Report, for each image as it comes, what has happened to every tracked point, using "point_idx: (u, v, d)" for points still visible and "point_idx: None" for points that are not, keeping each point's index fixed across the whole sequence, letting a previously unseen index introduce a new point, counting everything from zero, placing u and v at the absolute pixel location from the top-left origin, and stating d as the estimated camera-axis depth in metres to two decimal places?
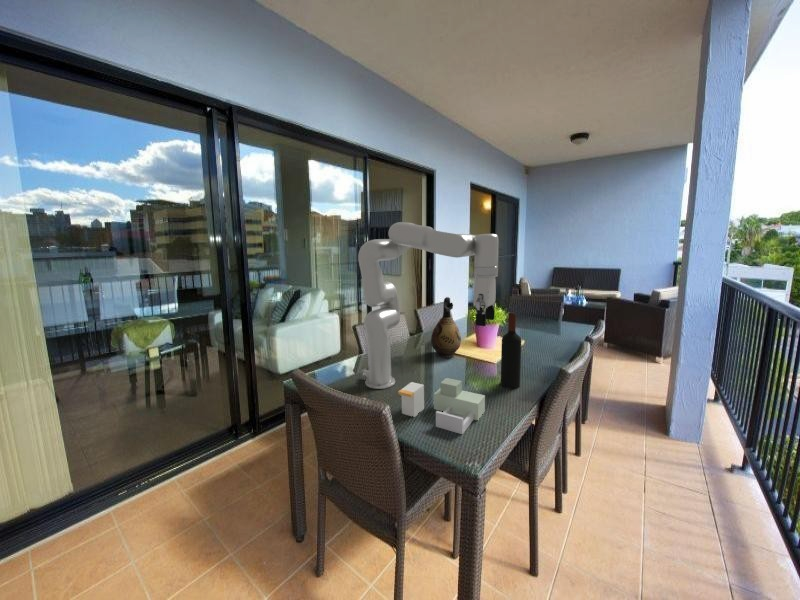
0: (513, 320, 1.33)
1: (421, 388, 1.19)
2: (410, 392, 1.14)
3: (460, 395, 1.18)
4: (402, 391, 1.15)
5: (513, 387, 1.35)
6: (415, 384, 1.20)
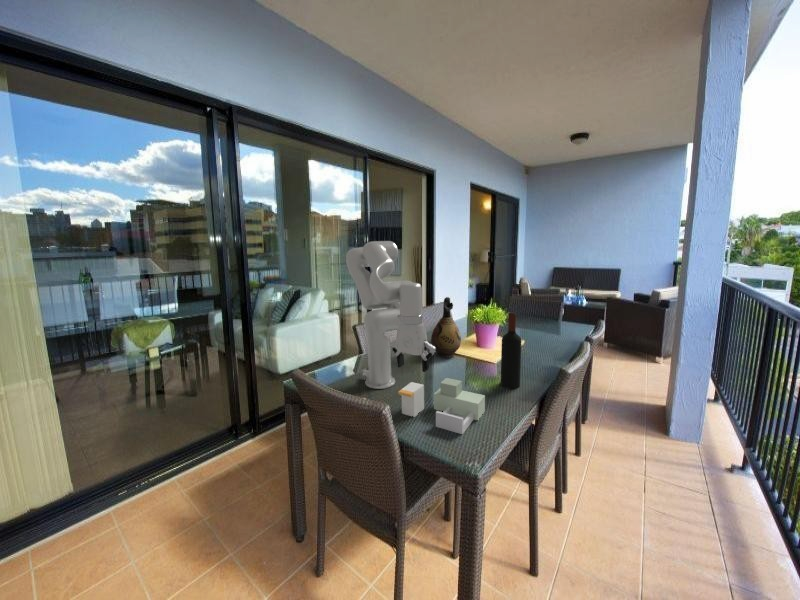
0: (513, 320, 1.33)
1: (421, 388, 1.19)
2: (410, 392, 1.14)
3: (460, 395, 1.18)
4: (402, 391, 1.15)
5: (513, 387, 1.35)
6: (415, 384, 1.20)
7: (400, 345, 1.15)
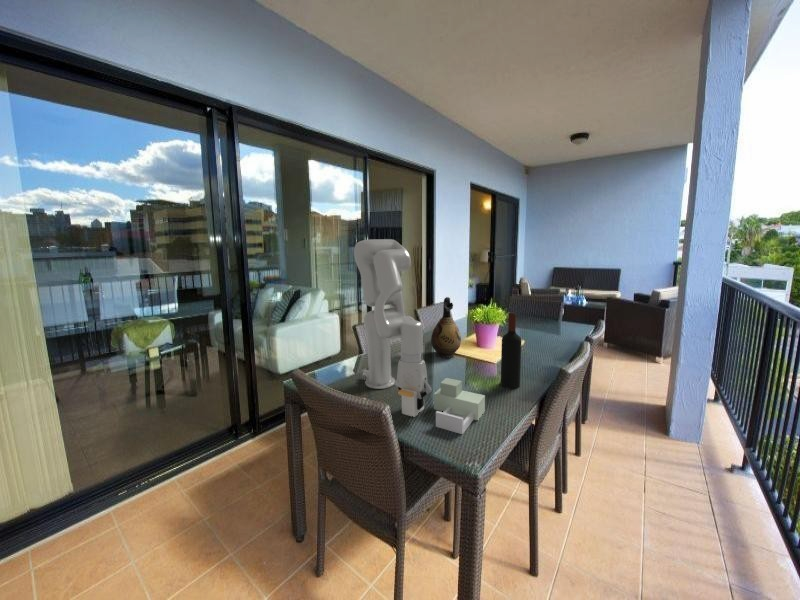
0: (513, 320, 1.33)
1: None
2: (410, 392, 1.14)
3: (460, 395, 1.18)
4: (402, 391, 1.15)
5: (513, 387, 1.35)
6: None
7: (401, 381, 1.17)
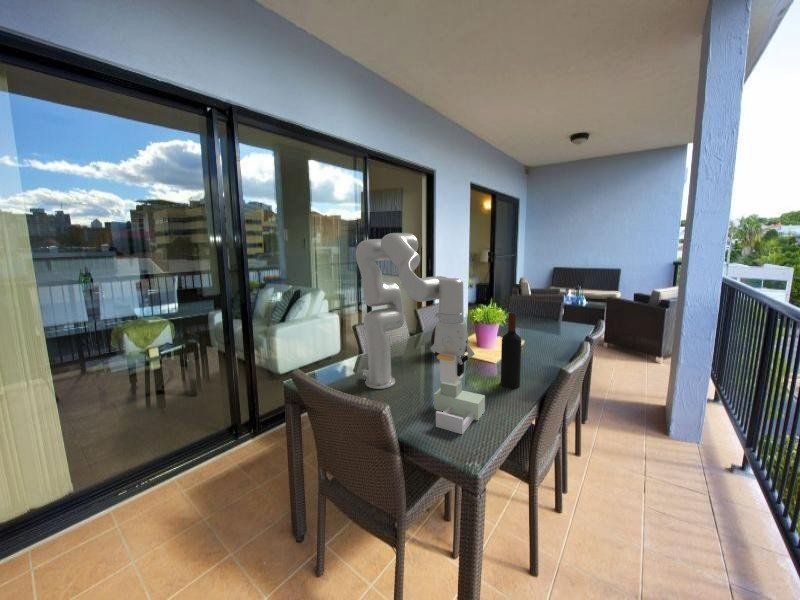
0: (513, 320, 1.33)
1: None
2: (450, 356, 1.04)
3: (460, 395, 1.18)
4: (441, 355, 1.05)
5: (513, 387, 1.35)
6: None
7: (439, 345, 1.07)
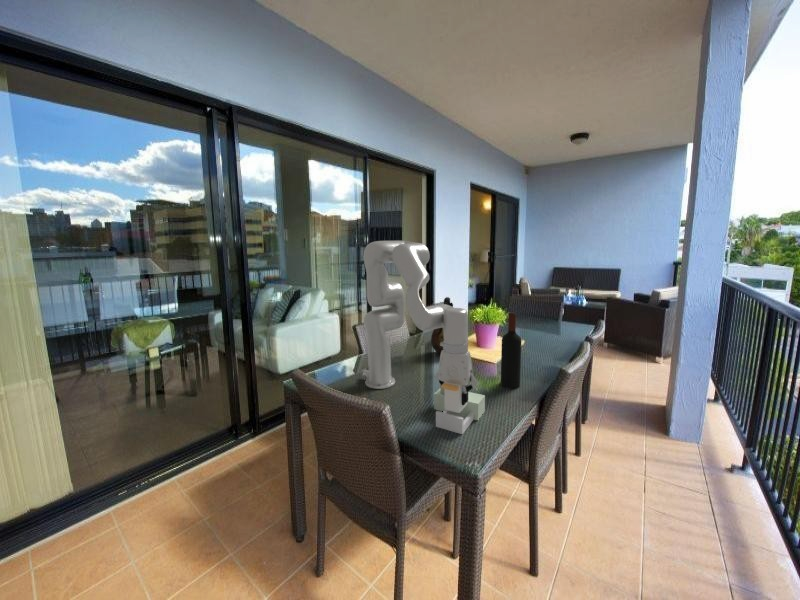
0: (513, 320, 1.33)
1: None
2: (455, 386, 1.05)
3: None
4: (446, 385, 1.05)
5: (513, 387, 1.35)
6: None
7: (443, 374, 1.08)
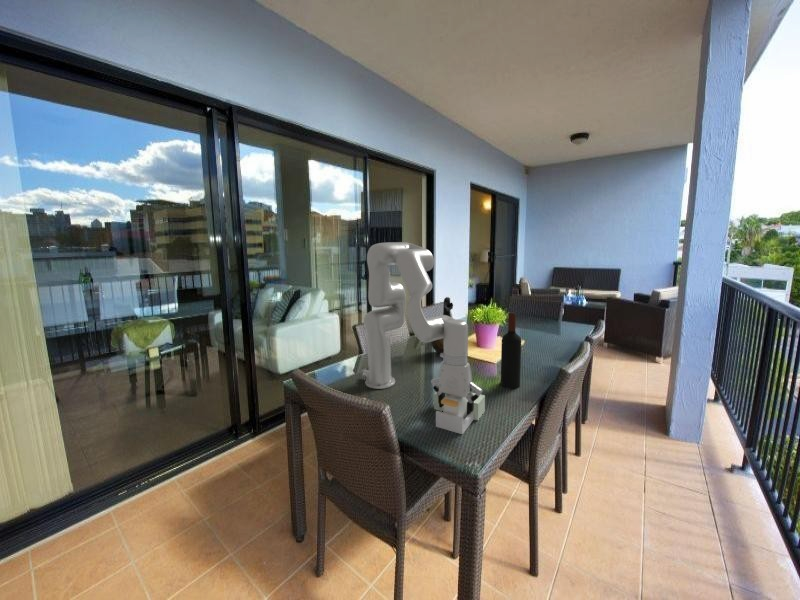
0: (513, 320, 1.33)
1: None
2: (454, 401, 1.06)
3: None
4: (445, 400, 1.07)
5: (513, 387, 1.35)
6: None
7: (443, 385, 1.08)
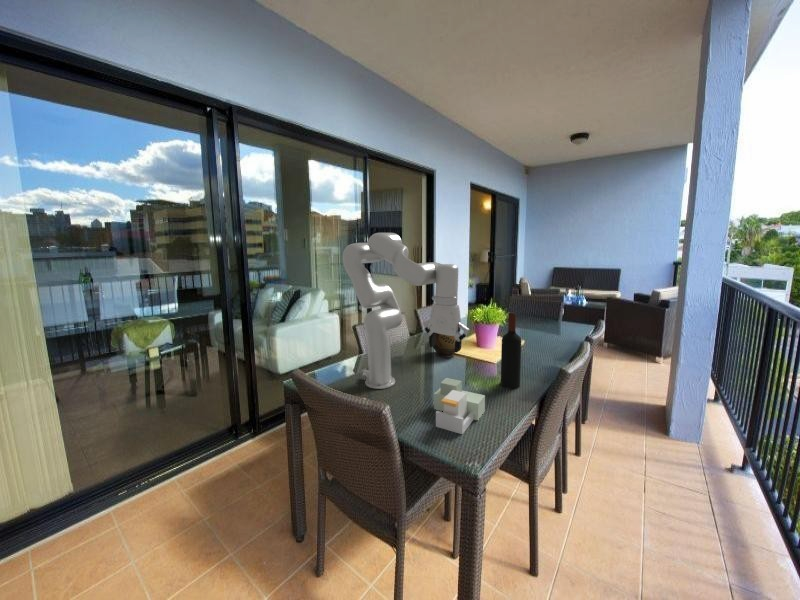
0: (513, 320, 1.33)
1: (465, 396, 1.10)
2: (454, 401, 1.06)
3: None
4: (445, 400, 1.07)
5: (513, 387, 1.35)
6: (457, 392, 1.12)
7: (434, 325, 1.17)
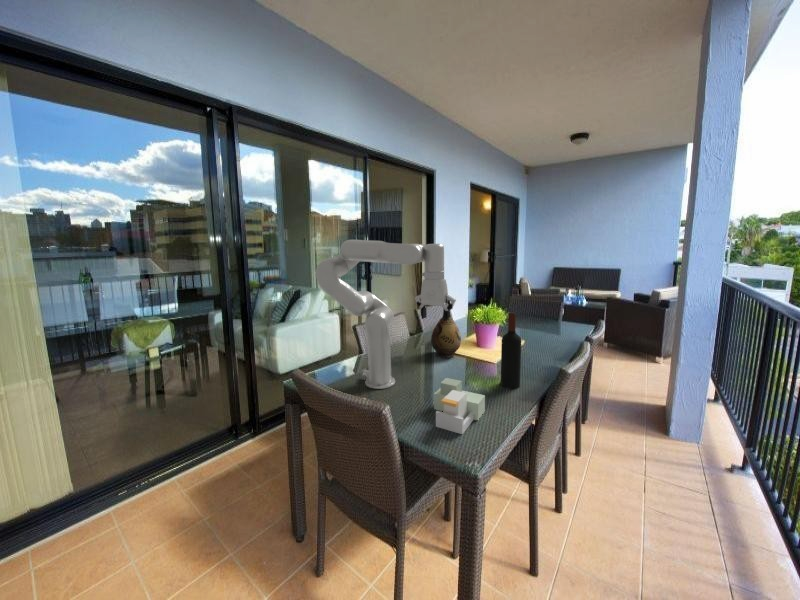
0: (513, 320, 1.33)
1: (465, 396, 1.10)
2: (454, 401, 1.06)
3: None
4: (445, 400, 1.07)
5: (513, 387, 1.35)
6: (457, 392, 1.12)
7: (424, 298, 1.32)
